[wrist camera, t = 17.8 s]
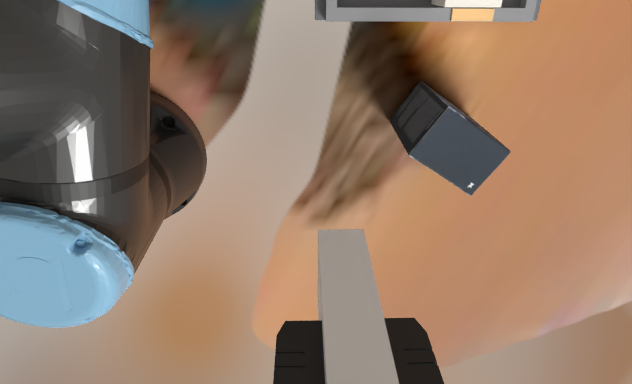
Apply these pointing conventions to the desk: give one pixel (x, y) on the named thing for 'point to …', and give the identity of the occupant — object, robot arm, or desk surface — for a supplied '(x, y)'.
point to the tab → (467, 3)
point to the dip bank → (423, 11)
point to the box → (447, 139)
